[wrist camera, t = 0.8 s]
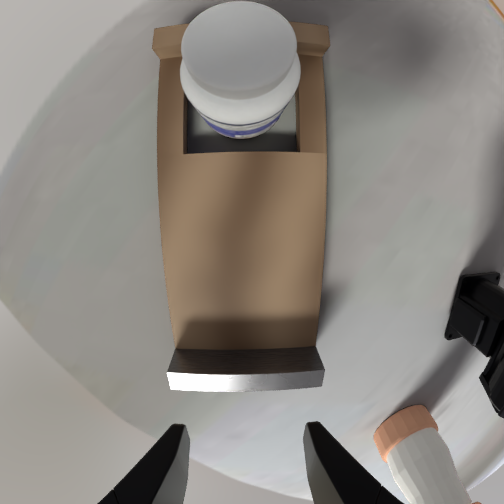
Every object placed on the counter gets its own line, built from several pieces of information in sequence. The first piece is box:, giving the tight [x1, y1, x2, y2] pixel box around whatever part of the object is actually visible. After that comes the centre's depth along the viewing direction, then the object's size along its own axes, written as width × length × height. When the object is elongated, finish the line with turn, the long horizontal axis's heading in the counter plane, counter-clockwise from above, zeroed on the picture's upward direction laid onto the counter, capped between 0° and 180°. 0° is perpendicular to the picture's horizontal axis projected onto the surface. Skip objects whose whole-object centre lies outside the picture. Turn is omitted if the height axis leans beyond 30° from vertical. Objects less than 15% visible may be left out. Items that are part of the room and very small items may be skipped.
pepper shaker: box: [374, 405, 481, 504], centre depth 15 cm, size 7×7×19 cm
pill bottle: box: [180, 1, 301, 139], centre depth 12 cm, size 5×5×9 cm
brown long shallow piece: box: [152, 21, 330, 391], centre depth 15 cm, size 10×22×4 cm, turn 1°
